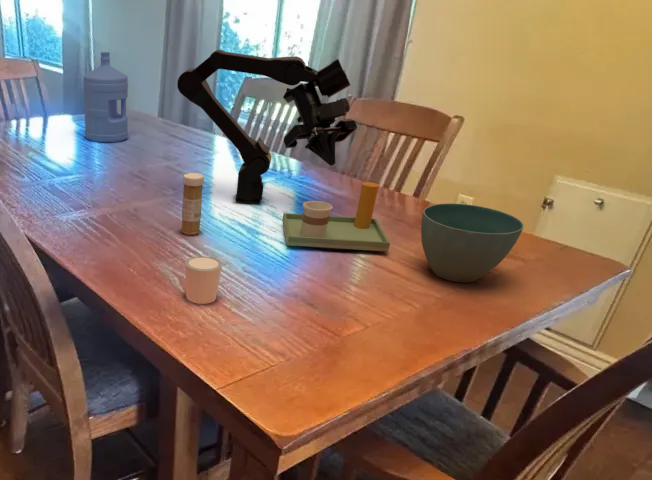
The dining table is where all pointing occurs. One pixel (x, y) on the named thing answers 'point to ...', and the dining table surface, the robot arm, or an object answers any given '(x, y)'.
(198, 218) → the sprinkles bottle
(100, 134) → the water jug
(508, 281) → the dining table surface
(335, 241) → the tray
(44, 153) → the dining table surface
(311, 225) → the beige banded cup
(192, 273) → the peach tapered cup
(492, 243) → the dark green bowl
